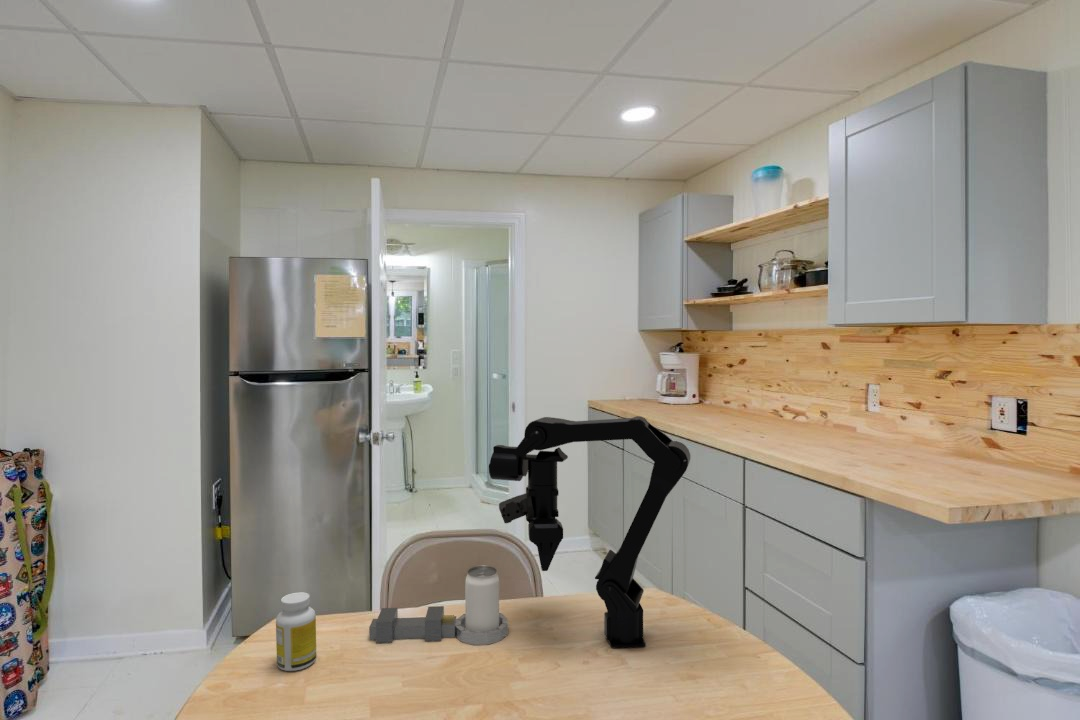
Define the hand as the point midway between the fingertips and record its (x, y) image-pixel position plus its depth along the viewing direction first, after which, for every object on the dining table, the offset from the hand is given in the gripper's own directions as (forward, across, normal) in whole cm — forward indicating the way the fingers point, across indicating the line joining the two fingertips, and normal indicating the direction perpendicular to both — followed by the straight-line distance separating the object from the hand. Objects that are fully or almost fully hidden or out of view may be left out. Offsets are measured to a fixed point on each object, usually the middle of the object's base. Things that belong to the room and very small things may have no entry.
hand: (542, 561), depth 119 cm
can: (+13, +1, -12) cm, 18 cm away
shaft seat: (+13, +1, -20) cm, 24 cm away
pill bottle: (+13, +10, -44) cm, 47 cm away
